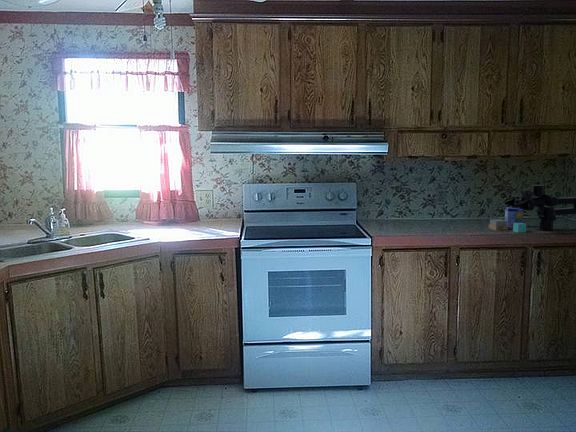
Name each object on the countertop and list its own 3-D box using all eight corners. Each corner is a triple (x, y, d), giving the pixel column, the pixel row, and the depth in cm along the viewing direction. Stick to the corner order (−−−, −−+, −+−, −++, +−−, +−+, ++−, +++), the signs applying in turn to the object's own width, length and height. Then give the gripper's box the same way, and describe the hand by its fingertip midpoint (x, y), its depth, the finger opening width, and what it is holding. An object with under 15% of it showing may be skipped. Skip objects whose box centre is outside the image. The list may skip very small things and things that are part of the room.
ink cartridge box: (507, 227, 310) (508, 204, 308) (503, 225, 315) (504, 203, 313) (523, 227, 309) (524, 204, 307) (519, 225, 314) (521, 203, 312)
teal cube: (520, 231, 297) (521, 222, 297) (525, 232, 292) (526, 224, 292) (513, 231, 297) (513, 223, 296) (517, 232, 292) (518, 224, 291)
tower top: (500, 223, 308) (500, 219, 307) (506, 225, 301) (507, 220, 301) (489, 224, 307) (490, 219, 306) (496, 226, 300) (496, 221, 300)
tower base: (500, 228, 309) (500, 223, 308) (507, 230, 301) (508, 225, 301) (488, 229, 308) (488, 224, 307) (495, 231, 300) (495, 226, 299)
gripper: (524, 187, 303) (500, 188, 301) (544, 191, 285) (518, 192, 282) (523, 204, 305) (499, 206, 303) (543, 210, 287) (518, 212, 285)
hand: (508, 204), depth 293 cm, fingers open, 9 cm apart
